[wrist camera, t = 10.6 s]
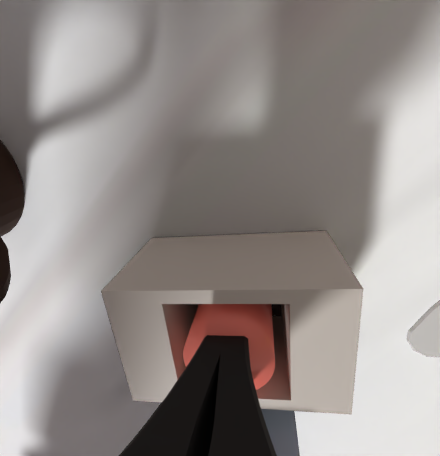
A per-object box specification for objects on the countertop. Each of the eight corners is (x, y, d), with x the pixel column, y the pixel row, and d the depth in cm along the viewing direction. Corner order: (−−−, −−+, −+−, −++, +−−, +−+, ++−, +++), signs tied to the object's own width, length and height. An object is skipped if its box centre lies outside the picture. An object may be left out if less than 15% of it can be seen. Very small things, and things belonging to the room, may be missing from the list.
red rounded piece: (207, 324, 13) (189, 392, 10) (199, 268, 12) (176, 322, 9) (271, 325, 12) (276, 396, 9) (269, 266, 11) (273, 323, 8)
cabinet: (168, 322, 15) (133, 400, 11) (151, 237, 13) (101, 290, 9) (323, 324, 13) (351, 414, 9) (326, 230, 12) (363, 288, 8)
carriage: (212, 413, 16) (191, 545, 11) (202, 347, 14) (171, 468, 9) (288, 418, 15) (302, 561, 10) (286, 349, 14) (302, 481, 9)
